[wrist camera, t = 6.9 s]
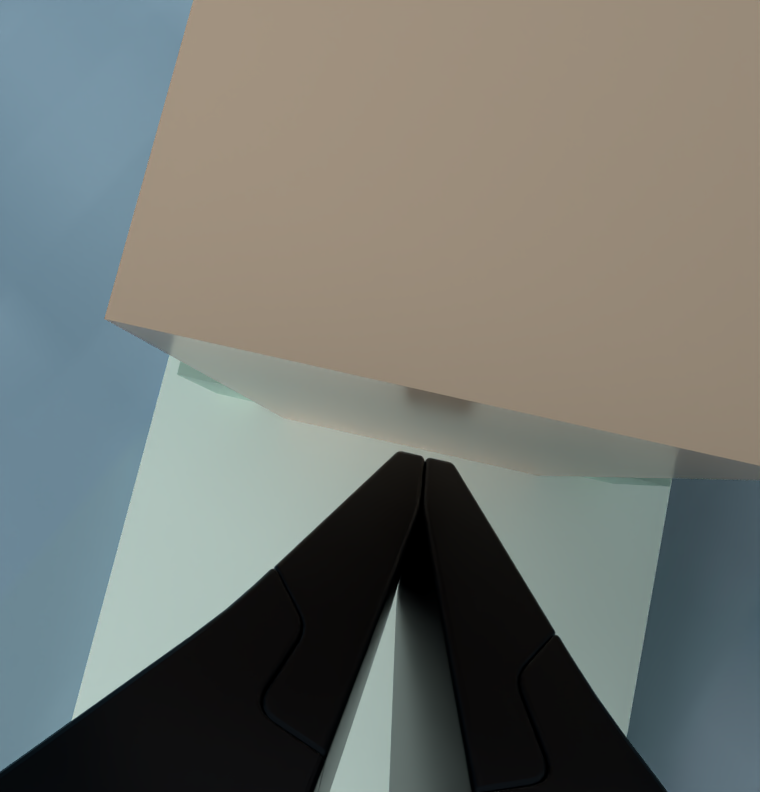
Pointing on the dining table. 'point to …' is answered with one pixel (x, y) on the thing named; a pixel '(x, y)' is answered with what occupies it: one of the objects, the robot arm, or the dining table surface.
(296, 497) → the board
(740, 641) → the dining table surface
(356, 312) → the beige cardboard box
